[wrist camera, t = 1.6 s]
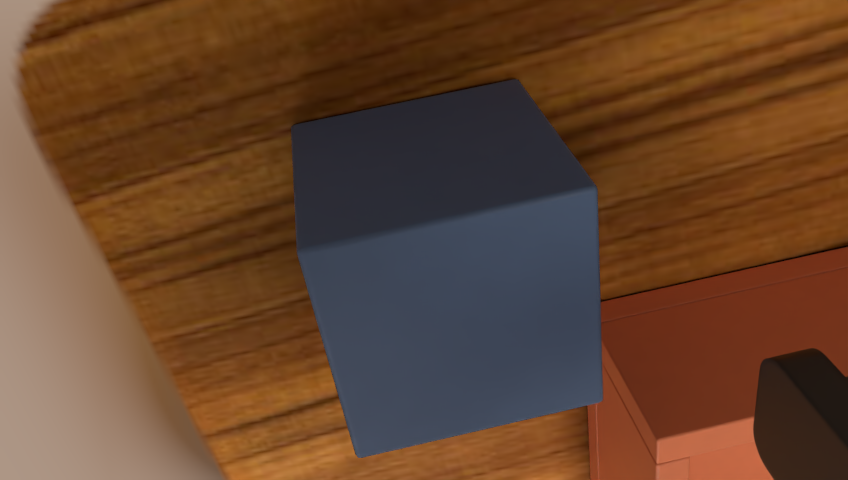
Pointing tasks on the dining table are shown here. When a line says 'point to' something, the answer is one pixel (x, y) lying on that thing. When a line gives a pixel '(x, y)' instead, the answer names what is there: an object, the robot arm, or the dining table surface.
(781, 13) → the dining table surface
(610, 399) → the red bin
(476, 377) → the blue block
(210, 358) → the dining table surface
